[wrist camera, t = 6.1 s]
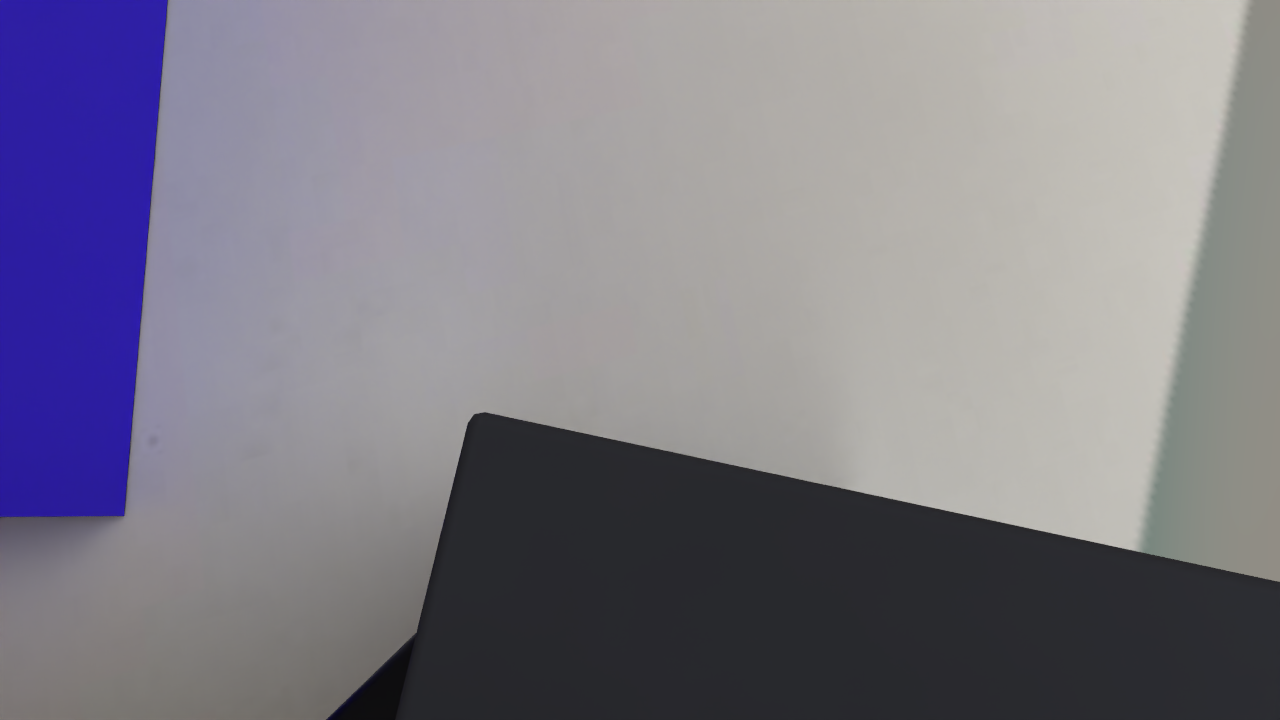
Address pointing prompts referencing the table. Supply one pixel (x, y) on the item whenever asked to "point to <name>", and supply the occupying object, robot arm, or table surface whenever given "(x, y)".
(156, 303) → the table surface
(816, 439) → the table surface
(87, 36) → the bracket
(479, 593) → the black block
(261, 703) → the table surface
